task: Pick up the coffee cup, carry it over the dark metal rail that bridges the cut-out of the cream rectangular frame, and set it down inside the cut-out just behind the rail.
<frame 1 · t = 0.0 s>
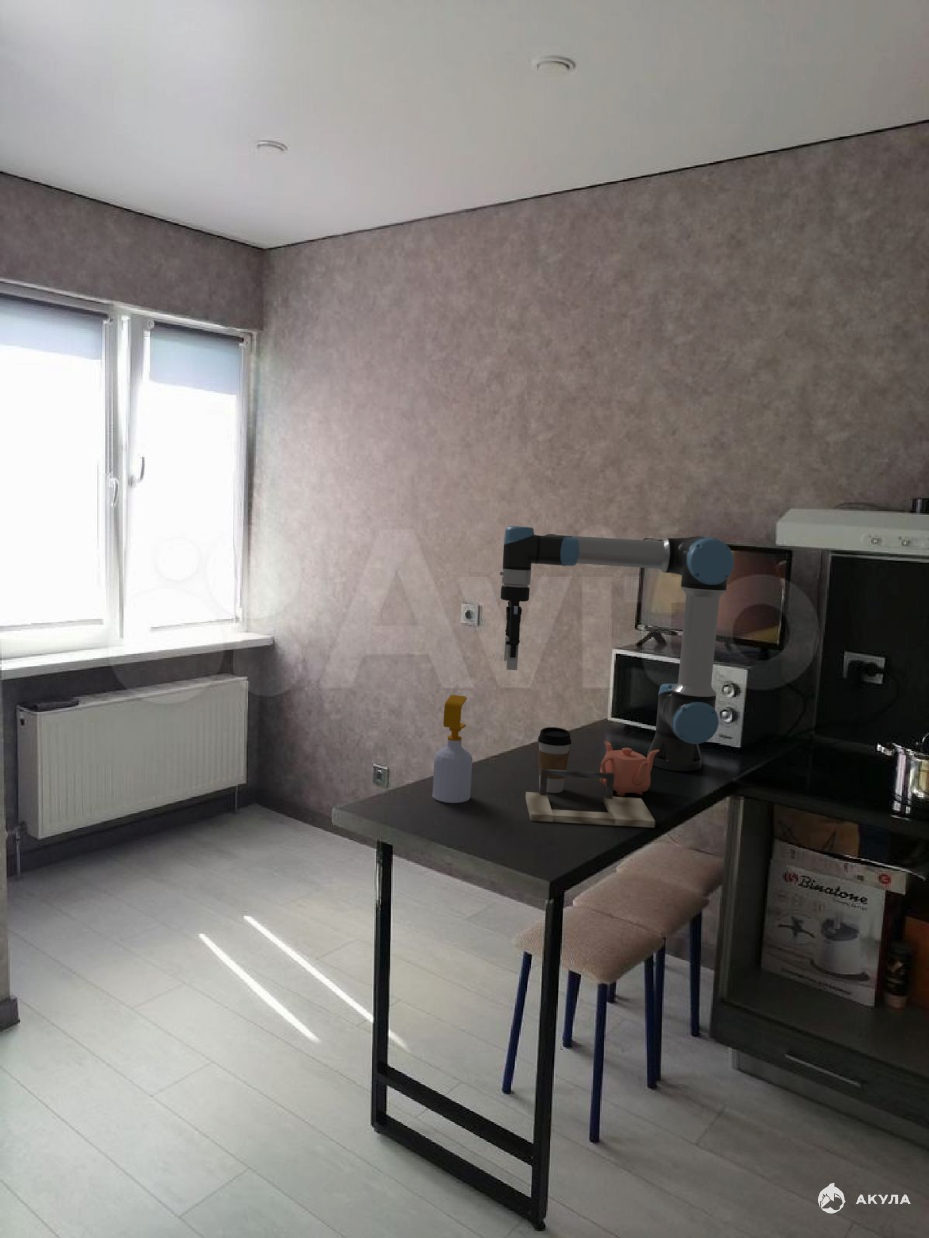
hand: (510, 665, 241), 28 cm above the table, fingers open, 13 cm apart
coffee cup: (550, 790, 228), on the table
spray bottle: (451, 798, 217), on the table
teapot: (628, 790, 232), on the table
cream rectangular frame: (587, 812, 213), on the table
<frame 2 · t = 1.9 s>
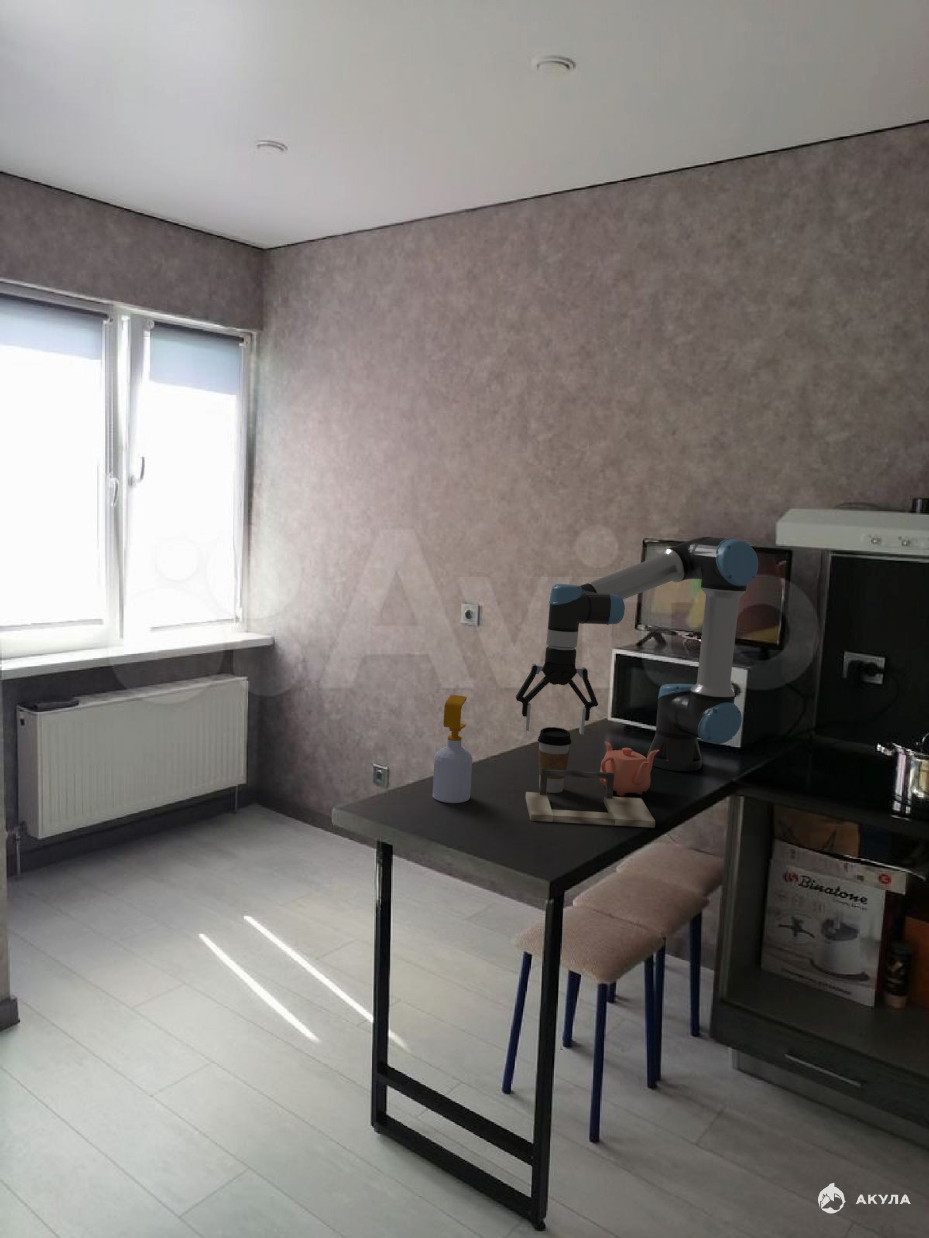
hand: (554, 731, 226), 15 cm above the table, fingers open, 13 cm apart
nothing on the table moved.
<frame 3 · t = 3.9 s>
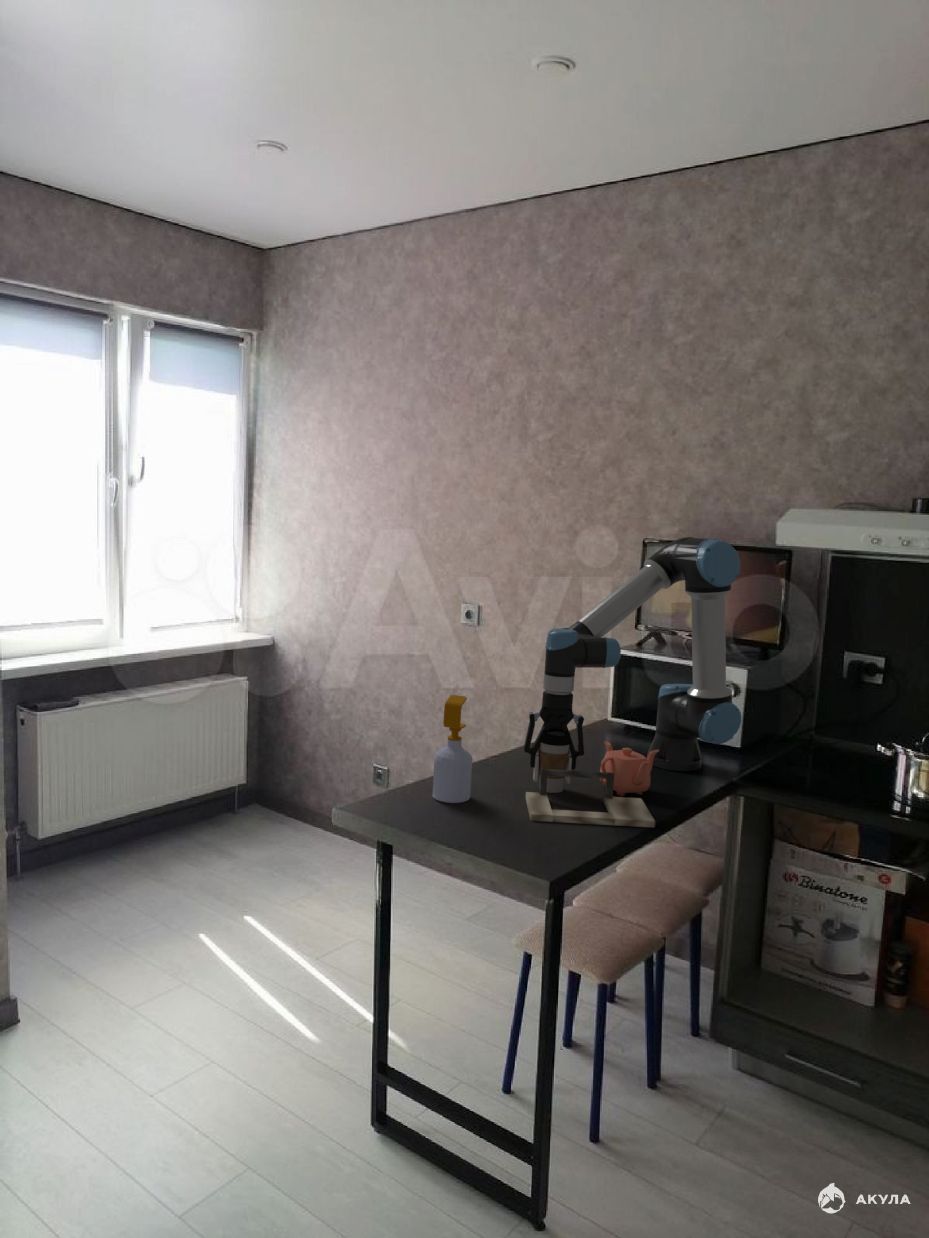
hand: (551, 780, 228), 2 cm above the table, fingers closed on coffee cup, 8 cm apart
coffee cup: (550, 789, 228), on the table, touching gripper
everything else where it was.
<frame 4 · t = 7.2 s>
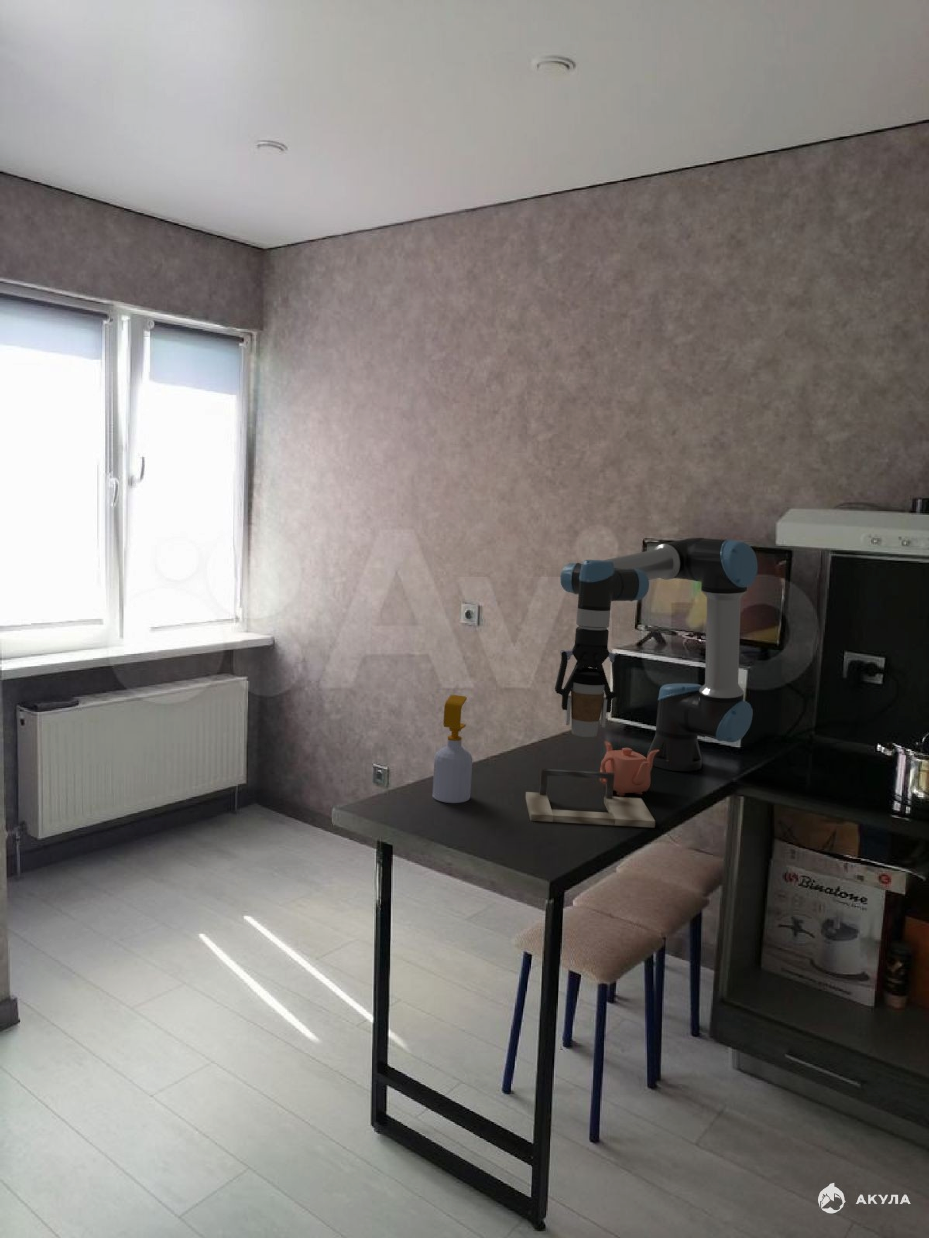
hand: (584, 724, 212), 20 cm above the table, fingers closed on coffee cup, 8 cm apart
coffee cup: (584, 734, 212), point 18 cm above the table, touching gripper
everything else where it was.
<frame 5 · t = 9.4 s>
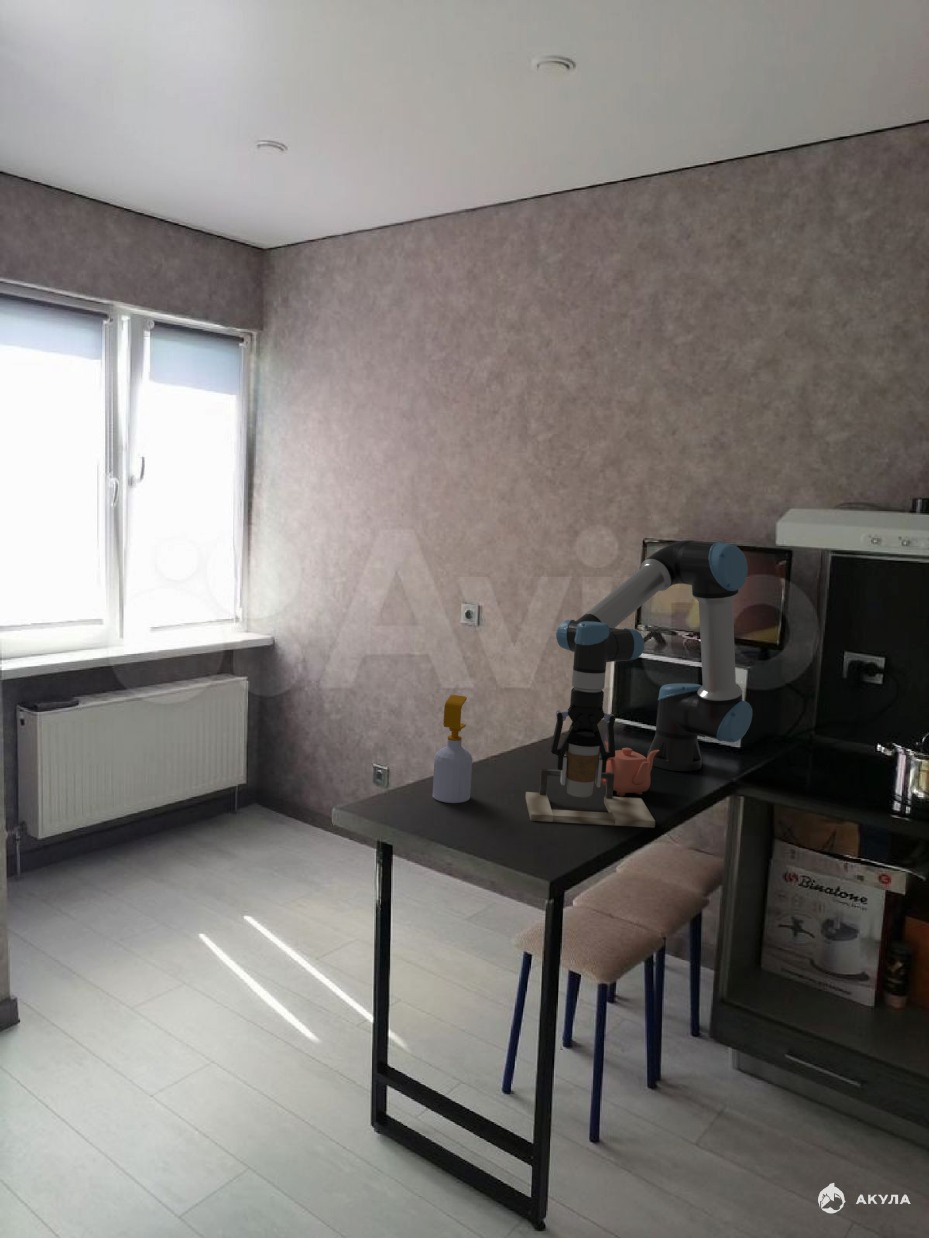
hand: (580, 784, 213), 6 cm above the table, fingers closed on coffee cup, 8 cm apart
coffee cup: (579, 794, 214), point 4 cm above the table, touching gripper
everything else where it was.
when the fingers open (4 cm above the table, at t = 10.8 s): coffee cup drops 2 cm, on the table.
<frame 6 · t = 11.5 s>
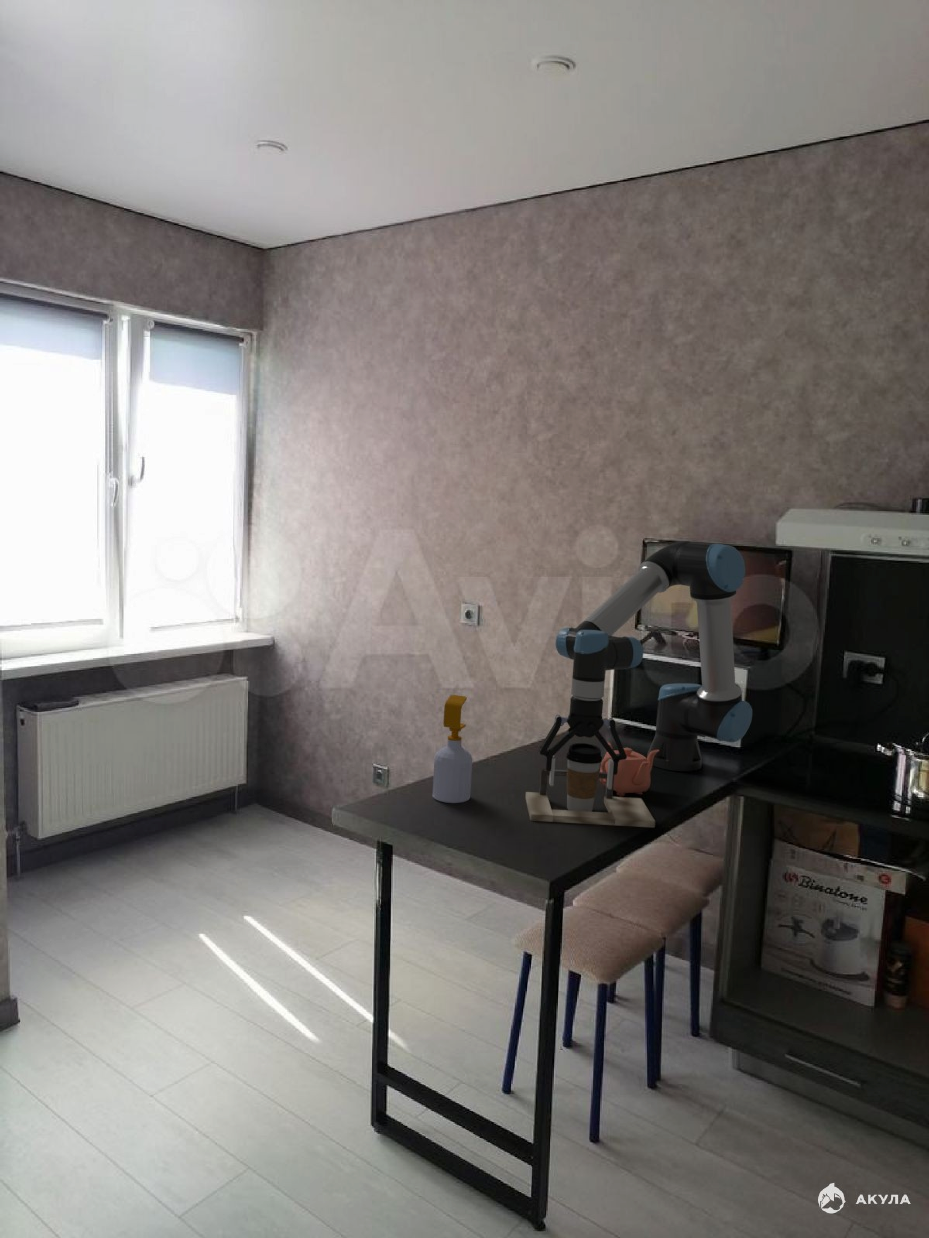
hand: (580, 785, 213), 6 cm above the table, fingers open, 13 cm apart
coffee cup: (579, 810, 214), on the table
everything else where it was.
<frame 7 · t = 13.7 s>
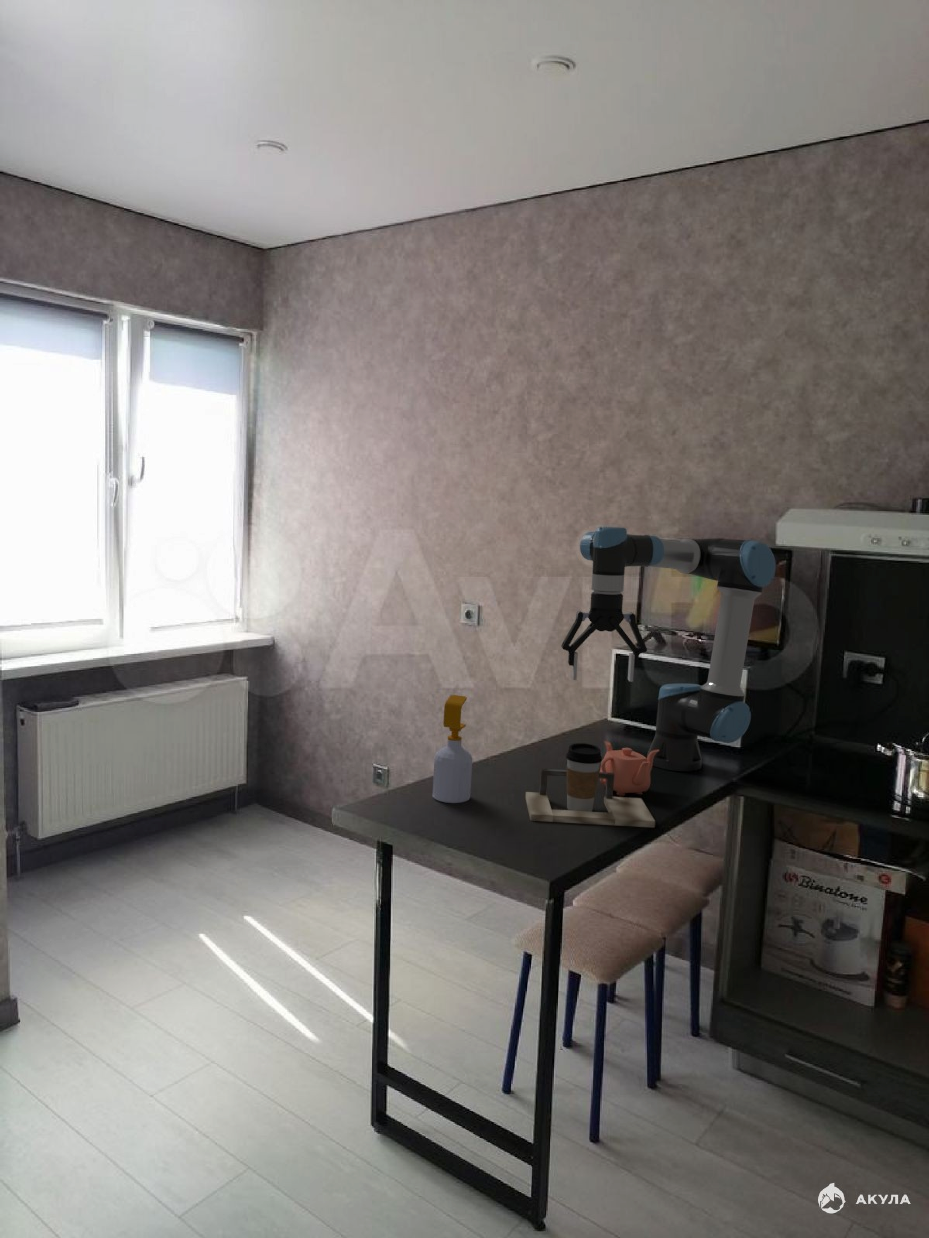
hand: (602, 680, 219), 30 cm above the table, fingers open, 13 cm apart
nothing on the table moved.
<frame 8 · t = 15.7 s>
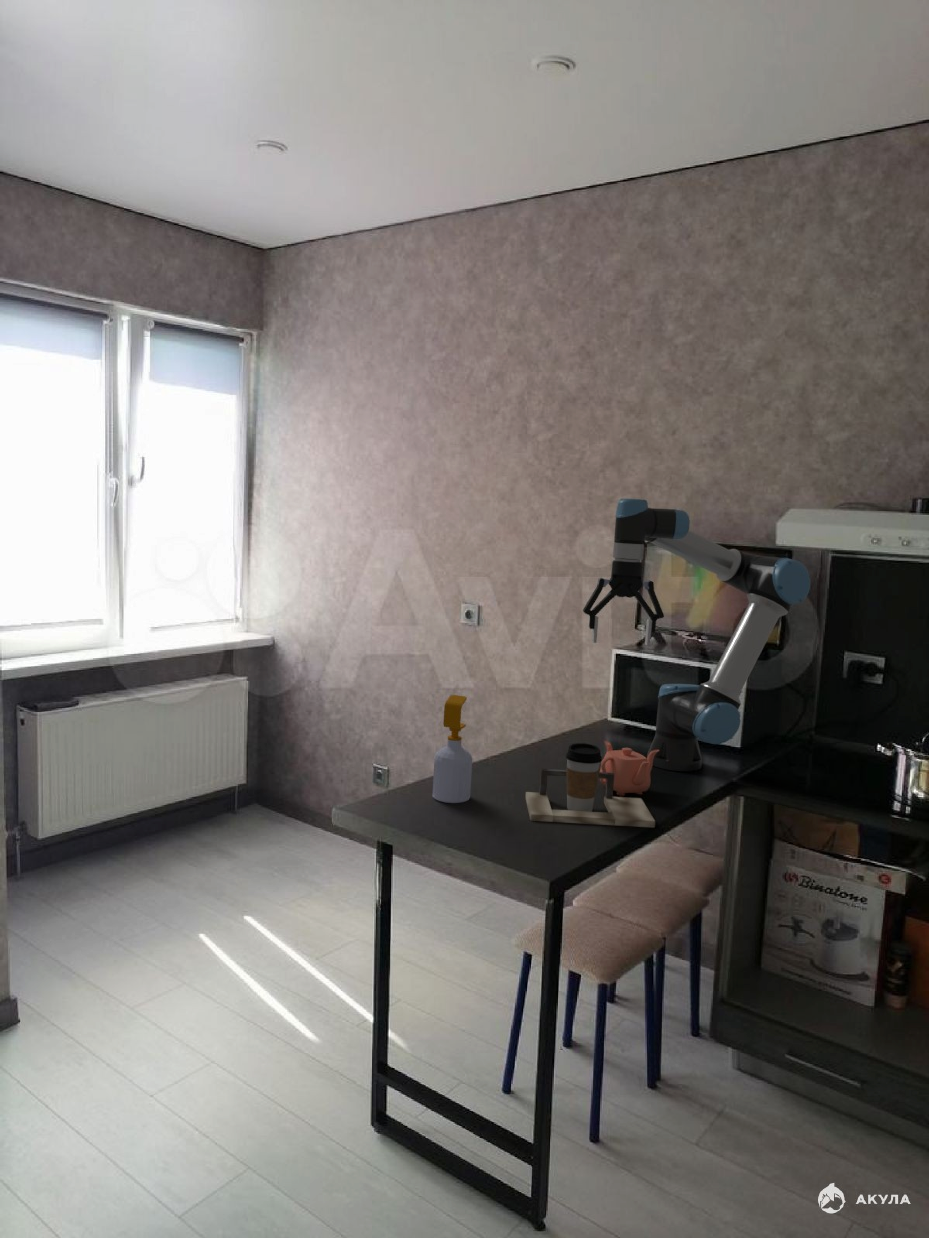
hand: (620, 643, 232), 37 cm above the table, fingers open, 13 cm apart
nothing on the table moved.
at the end: coffee cup 0.3 cm from the target spot on the cream rectangular frame, point 0.0 cm above the cream rectangular frame's base; coffee cup tilted 0°; the gripper is holding nothing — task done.
